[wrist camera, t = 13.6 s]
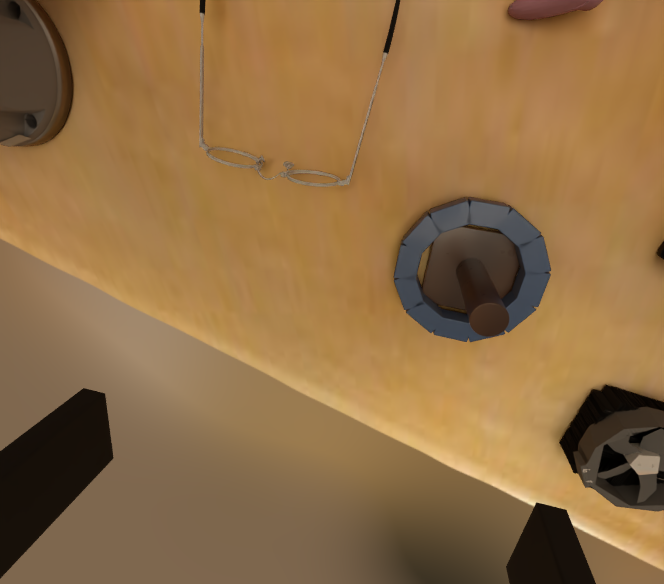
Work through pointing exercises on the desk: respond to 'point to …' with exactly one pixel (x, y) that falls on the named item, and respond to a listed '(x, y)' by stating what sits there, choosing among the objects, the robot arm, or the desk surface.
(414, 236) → the dark blue segmented ring
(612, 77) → the desk surface
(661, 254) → the end cap
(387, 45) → the eyeglasses
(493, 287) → the stand
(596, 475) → the cpu cooler
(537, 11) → the video game controller
